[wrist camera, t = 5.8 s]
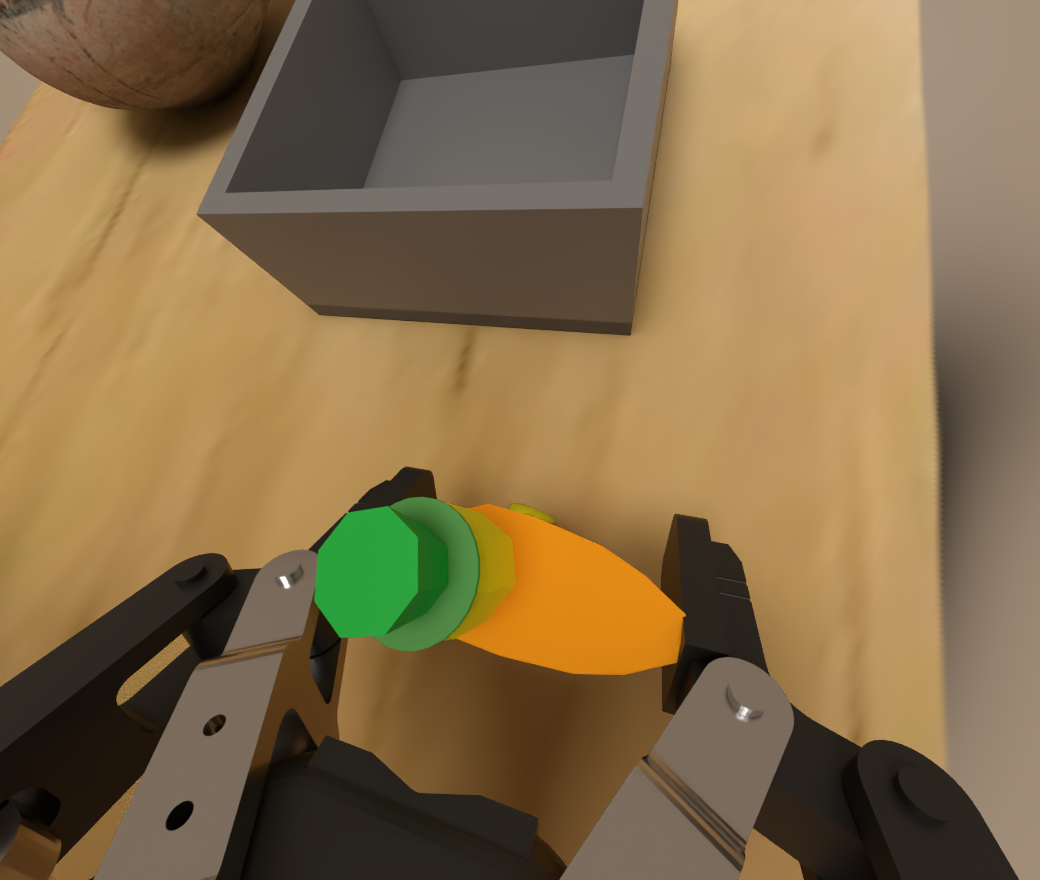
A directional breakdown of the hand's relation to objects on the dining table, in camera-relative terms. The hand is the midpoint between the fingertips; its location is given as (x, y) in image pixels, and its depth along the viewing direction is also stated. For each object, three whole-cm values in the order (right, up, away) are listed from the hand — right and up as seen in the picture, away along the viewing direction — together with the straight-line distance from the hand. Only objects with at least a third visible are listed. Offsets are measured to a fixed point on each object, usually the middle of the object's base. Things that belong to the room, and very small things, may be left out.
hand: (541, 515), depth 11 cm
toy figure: (+1, -3, +5) cm, 6 cm away
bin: (-2, +16, +11) cm, 20 cm away
